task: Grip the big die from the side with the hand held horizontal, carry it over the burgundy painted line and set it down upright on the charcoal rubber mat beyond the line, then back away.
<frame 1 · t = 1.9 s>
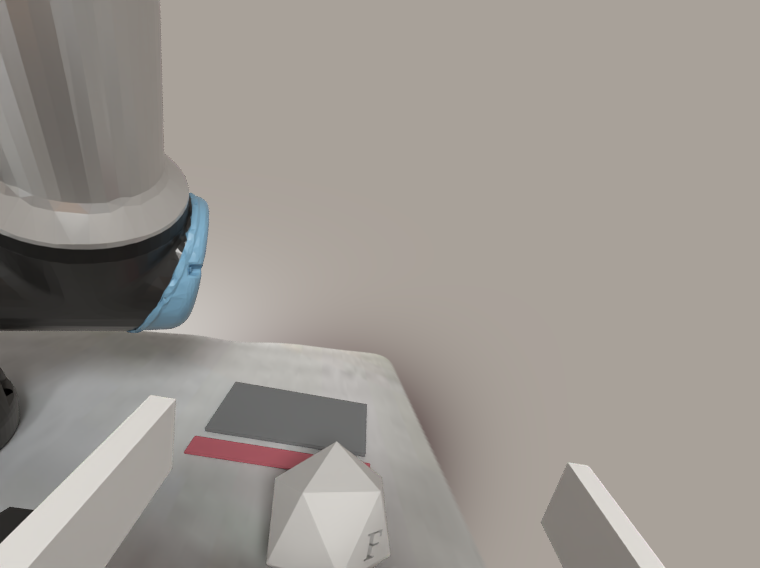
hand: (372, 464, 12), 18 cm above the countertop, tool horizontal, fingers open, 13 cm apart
line: (281, 459, 33), on the countertop
mat: (294, 417, 39), on the countertop
die: (321, 555, 26), on the countertop
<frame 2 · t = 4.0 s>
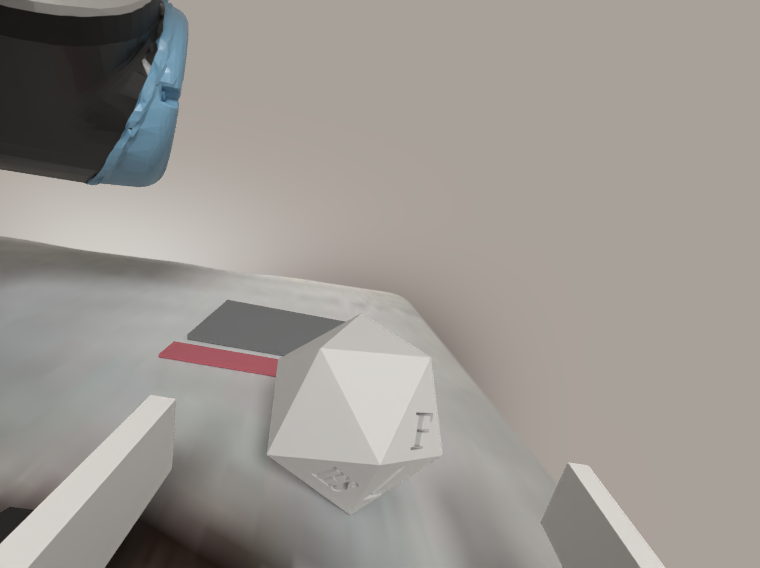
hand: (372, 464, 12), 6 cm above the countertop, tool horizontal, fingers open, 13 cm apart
line: (284, 370, 26), on the countertop
mat: (299, 335, 32), on the countertop
die: (342, 467, 19), on the countertop
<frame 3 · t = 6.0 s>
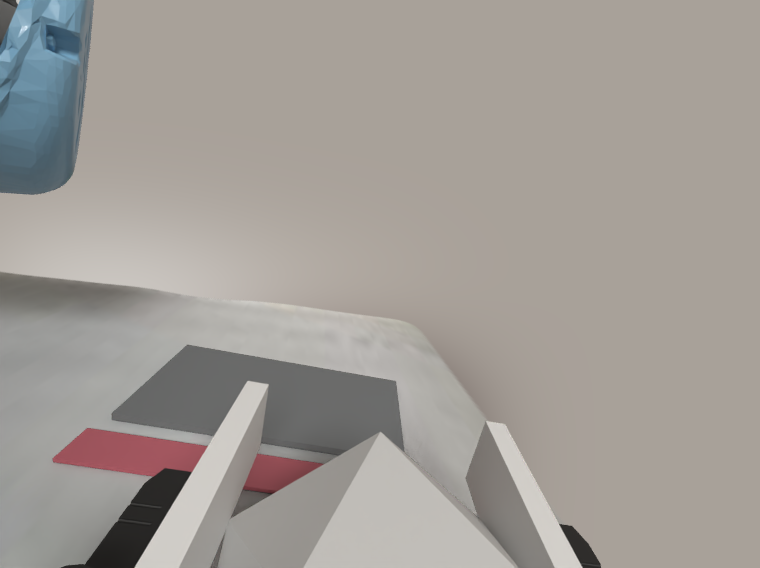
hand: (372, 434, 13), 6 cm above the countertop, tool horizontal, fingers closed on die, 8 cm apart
line: (250, 472, 17), on the countertop
mat: (280, 399, 23), on the countertop
when the fingers open (8 cm above the countertop, at t = 11.1 s): die drops 2 cm, resting on mat.
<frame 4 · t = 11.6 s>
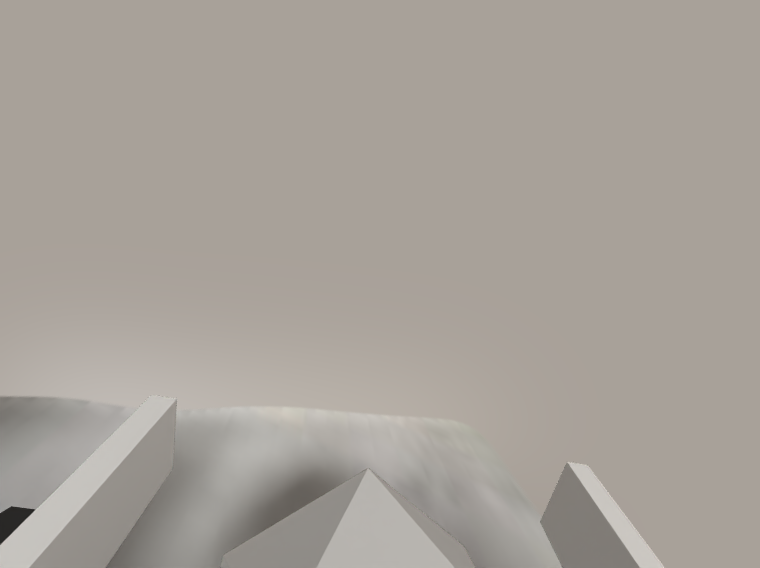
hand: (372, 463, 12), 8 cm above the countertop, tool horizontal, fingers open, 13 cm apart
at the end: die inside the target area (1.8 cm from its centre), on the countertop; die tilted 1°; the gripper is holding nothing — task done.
